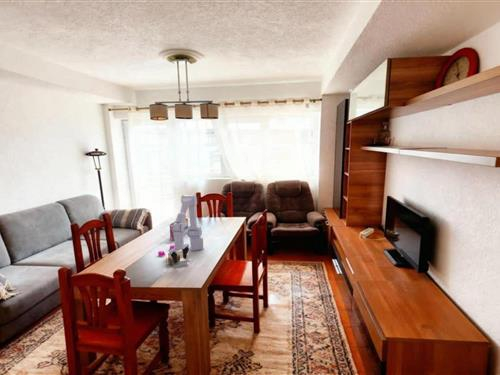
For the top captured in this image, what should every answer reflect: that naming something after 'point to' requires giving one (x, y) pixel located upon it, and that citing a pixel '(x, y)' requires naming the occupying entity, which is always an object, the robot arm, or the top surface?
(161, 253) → the toy block
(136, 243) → the top surface
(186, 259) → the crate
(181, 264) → the mat
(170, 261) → the walnut block
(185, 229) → the gum box
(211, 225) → the top surface
